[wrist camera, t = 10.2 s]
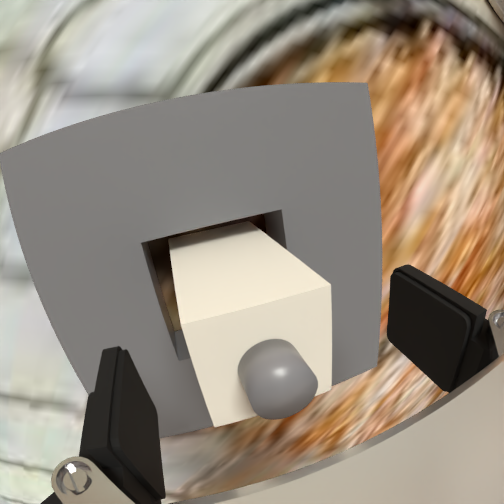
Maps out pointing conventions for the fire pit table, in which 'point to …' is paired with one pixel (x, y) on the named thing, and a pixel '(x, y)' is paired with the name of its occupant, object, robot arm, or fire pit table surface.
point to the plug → (252, 323)
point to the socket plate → (198, 220)
